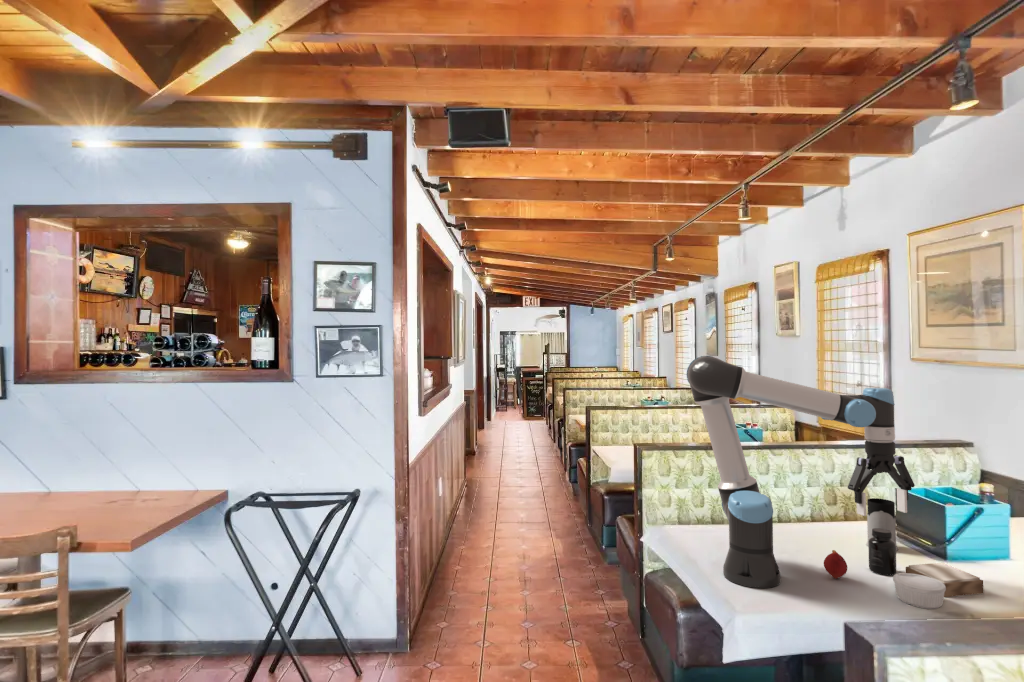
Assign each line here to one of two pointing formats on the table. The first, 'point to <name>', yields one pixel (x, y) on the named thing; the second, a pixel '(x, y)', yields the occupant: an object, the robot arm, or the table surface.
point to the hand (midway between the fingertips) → (882, 513)
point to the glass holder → (881, 517)
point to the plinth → (949, 578)
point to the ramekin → (919, 590)
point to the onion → (835, 565)
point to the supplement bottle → (882, 552)
